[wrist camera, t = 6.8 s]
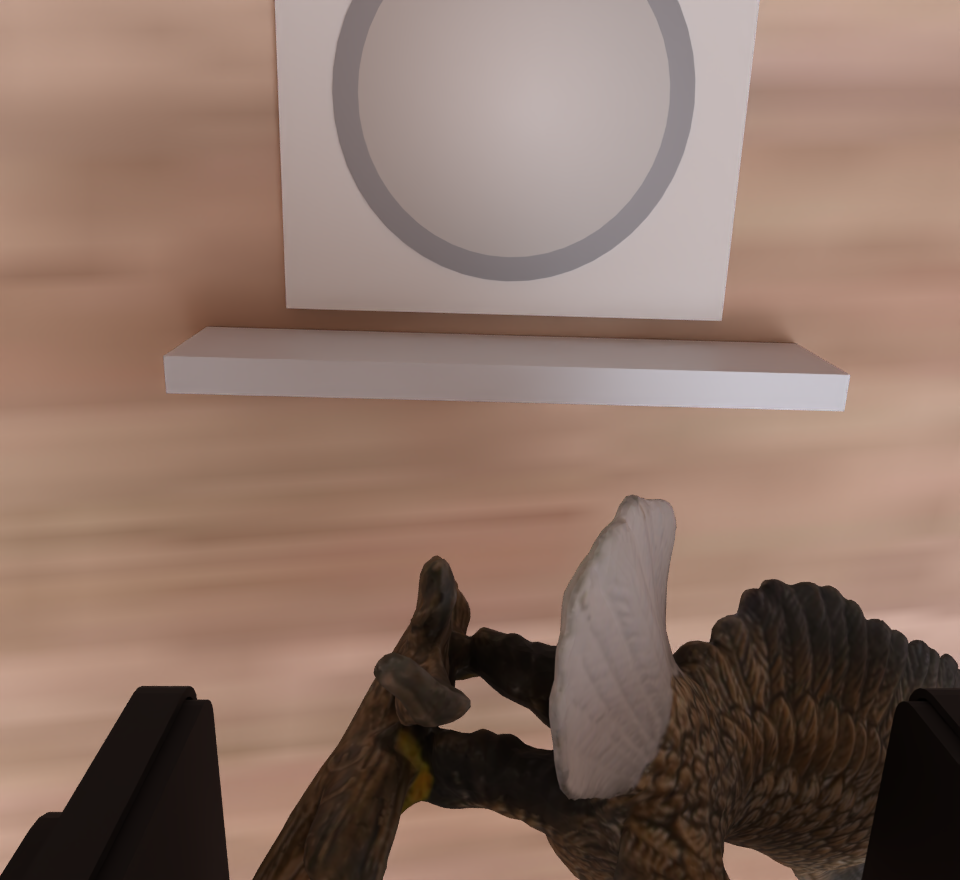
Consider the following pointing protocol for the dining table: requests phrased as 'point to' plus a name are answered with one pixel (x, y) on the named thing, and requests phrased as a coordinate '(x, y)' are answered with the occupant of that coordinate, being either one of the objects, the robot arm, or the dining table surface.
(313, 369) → the acrylic wall
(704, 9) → the pad
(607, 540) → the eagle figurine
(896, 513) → the dining table surface
